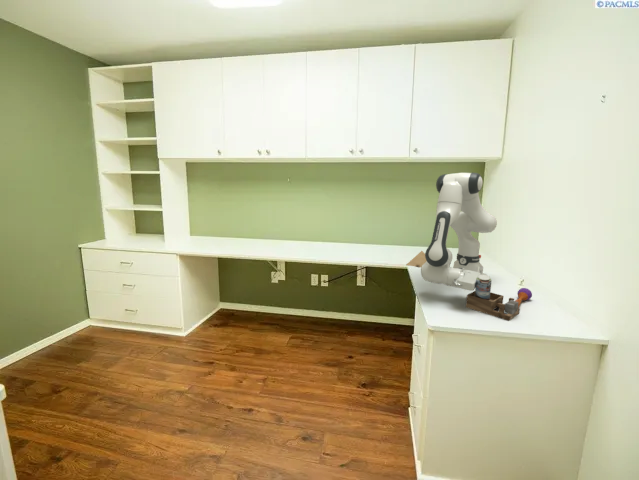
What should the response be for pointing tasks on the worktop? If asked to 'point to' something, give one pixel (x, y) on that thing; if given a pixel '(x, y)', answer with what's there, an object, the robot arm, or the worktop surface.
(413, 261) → the model pyramid
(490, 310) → the tray
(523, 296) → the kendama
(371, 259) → the worktop surface
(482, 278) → the beverage can
